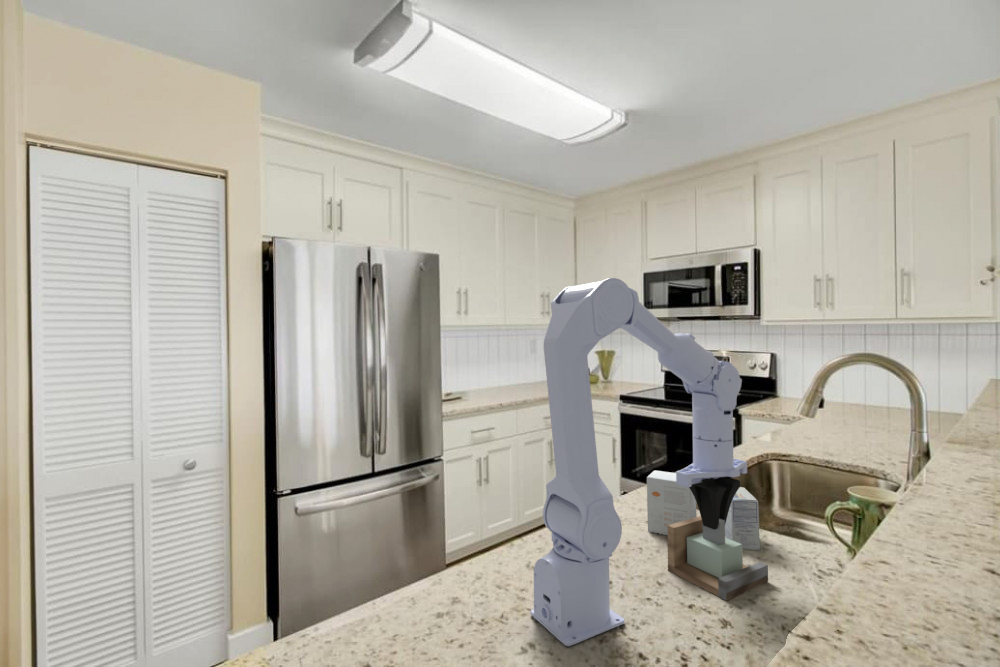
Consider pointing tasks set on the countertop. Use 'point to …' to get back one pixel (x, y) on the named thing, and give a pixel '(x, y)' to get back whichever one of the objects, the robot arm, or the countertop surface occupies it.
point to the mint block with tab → (714, 552)
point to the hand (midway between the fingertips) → (713, 525)
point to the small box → (667, 502)
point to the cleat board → (718, 586)
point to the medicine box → (743, 520)
